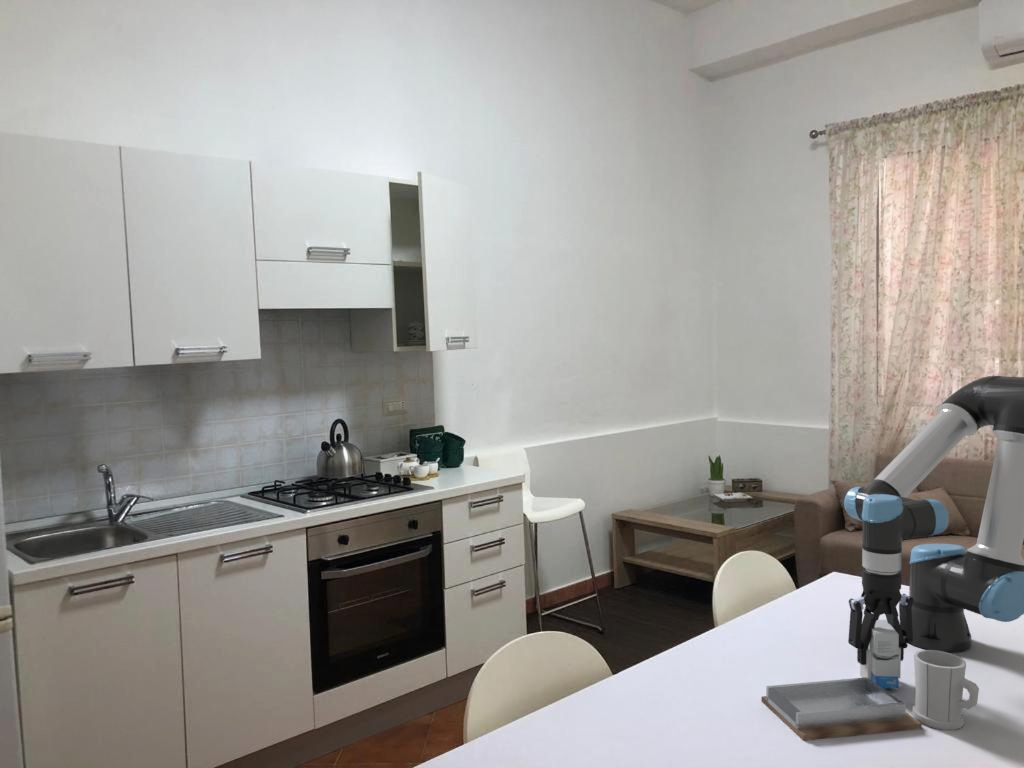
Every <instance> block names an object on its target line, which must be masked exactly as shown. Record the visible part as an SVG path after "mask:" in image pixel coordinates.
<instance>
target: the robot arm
mask: <svg viewBox="0 0 1024 768" xmlns="http://www.w3.org/2000/svg"><path fill="white" fill-rule="evenodd" d="M987 426H993V427H992V434H993V435H994V436H995V437H996V439H997V444H996V450H995V455H994V458H993V459H994V460H993V465H992V468H991V473H990V478H989V483H988V488H987V493H986V497H985V502H984V506H983V510H982V511H983V512H982V514H981V515H982V516H981V520H980V521H981V522H980V526H979V531H978V535H977V540H976V544H974V545H973V546H971V547H968V548H967V550H966V548H965V547H964V545H960V544H959V545H958V544H953V543H952V544H951V543H924V544H919V545H915V546H914V547H913V548H912V549H911V551H910V552H911V553H910V561H909V586H908V587H909V590H908V591H909V592H908V593H909V595H908V594H906V593H901V589H902V573H901V571H902V568H903V563H902V561H903V555H902V554H903V553H902V551H903V550H902V549H903V540H907V539H914V538H915V539H916V538H922V537H932V536H934V535H939V534H942V533H943V532H945V531H946V530H947V528H948V526H949V524H950V523H949V522H950V515H949V512H948V509H947V508H946V506H945V505H944V504H943V503H942V502H941V501H939V500H937V499H933V498H932V499H930V498H928V499H927V498H923V499H913V498H908V496H909V495H910V494H911V493H912V492H913V491H914V490H915V489H916V488H917V487H918V485H920V483H922V482H923V480H924V479H926V477H927V476H928V475H929V474H930V473H932V471H933V470H934V469H935V468H936V467H937V466H938V464H940V463H941V462H942V461H943V460H944V459H945V458H946V456H947V455H949V453H950V452H951V451H953V449H954V448H955V447H956V446H958V445H959V443H960V442H961V441H962V440H963V439H964V438H965V437H969V436H973V435H975V433H977V431H978V430H979V429H981V428H984V427H987ZM843 505H844V510H845V512H846V513H847V515H848V516H850V518H853V519H856V520H858V521H861V522H862V523H861V524H862V527H861V528H862V529H861V530H862V531H861V532H862V536H861V537H862V541H861V542H862V544H861V545H862V547H861V549H862V550H861V551H862V552H861V554H862V555H861V557H862V558H861V561H862V563H861V566H862V567H863V568H862V569H861V586H862V593H861V595H860V597H858V598H849V600H848V605H849V608H850V611H849V612H850V613H849V614H850V616H849V627H848V628H849V629H848V639H847V640H848V644H849V645H851V646H852V647H854V648H855V649H857V651H856V653H857V657H856V660H857V663H858V664H859V665H860V666H859V667H860V668H859V669H860V670H859V672H860V673H859V676H860V678H864V677H867V678H869V679H870V680H871V652H872V651H871V650H869V649H868V647H869V643H870V640H871V637H872V629H874V627H875V623H876V621H877V620H878V619H879V618H880V616H881V615H885V620H887V622H888V623H889V624H890V625H891V626H892V627H893V628H894V629H895V631H896V632H897V633H898V634H899V667H898V675H899V676H898V679H901V674H902V673H901V670H902V669H901V663H902V662H903V661H904V658H905V657H904V656H905V655H904V653H905V651H904V650H905V649H907V648H908V644H910V645H912V646H915V647H918V648H922V649H924V650H937V651H943V652H947V653H958V652H964V651H967V650H969V649H971V647H972V634H971V631H970V628H969V625H968V622H967V619H966V615H965V610H966V611H969V612H972V613H975V614H977V615H980V616H983V618H986V619H989V620H995V621H998V622H1001V623H1009V622H1013V621H1016V620H1017V619H1020V618H1021V616H1024V558H1023V557H1022V554H1021V553H1022V548H1023V543H1024V376H1023V377H1022V376H1005V375H1004V376H1003V375H1002V376H1001V375H989V376H983V377H981V378H978V379H975V380H973V381H971V382H968V383H967V384H965V385H964V386H962V387H960V388H959V389H957V390H956V391H954V392H953V393H952V394H951V395H950V396H949V397H947V398H946V399H945V400H944V401H943V402H942V403H941V404H940V405H939V406H938V408H937V415H936V416H935V417H933V419H932V420H931V421H930V422H929V423H927V425H926V426H924V428H923V429H922V430H921V431H920V432H919V433H918V434H917V435H916V436H915V437H914V438H913V439H912V440H911V441H910V442H909V443H908V444H907V445H906V446H905V447H904V448H903V449H902V451H900V453H899V454H898V455H896V457H894V458H893V460H892V461H891V462H890V463H889V464H888V465H887V466H886V467H884V469H883V470H882V471H881V472H880V473H879V474H878V475H877V476H875V478H874V479H873V480H872V481H871V482H870V483H869V484H868V485H867V486H866V487H865V486H854V487H853V488H850V489H849V490H848V491H847V493H846V495H845V497H844V502H843ZM864 605H865V607H864ZM897 605H898V610H897ZM898 611H899V612H898ZM879 620H880V619H879Z"/></svg>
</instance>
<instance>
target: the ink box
mask: <svg viewBox="0 0 1024 768" xmlns="http://www.w3.org/2000/svg"><path fill="white" fill-rule="evenodd" d="M868 649H869V650H871V651H872V652H871V680H872V681H873V682H875V683H876V684H878V685H879V686H880V687H882V688H883V689H896V690H897V689H899V678H898V676H899V675H898V667H899V634H898V633H897V632H896V631H895V629H894V628H893V627H892V626H891V625H890V624H889V623H888V622H887V619H878V620H877V621H876V623H875V627H874V629H872V637H871V640H870V643H869V647H868Z"/></svg>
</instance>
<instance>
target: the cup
mask: <svg viewBox="0 0 1024 768" xmlns="http://www.w3.org/2000/svg"><path fill="white" fill-rule="evenodd" d="M913 661H914V679H915V680H914V683H915V684H914V685H915V687H914V689H915V698H914V702H915V703H914V704H913V706H912V717H913V718H915V719H916V720H918V721H919V722H921V723H922V725H925V726H927V727H930V728H932V729H938V730H944V731H953V730H955V731H956V730H958V729H960V728H962V727H963V726H964V724H965V715H964V713H962V709H965V710H970V709H973V708H974V707H976V706H977V705H978V701H979V700H978V699H979V692H980V688H979V686H978V685H977V684H976V682H973V681H972V680H970V679H967V678H965V676H966V668H967V662H966V661H965V660H964V659H963V658H962V657H961V656H959V655H957V654H953V653H952V652H943V651H937V650H929V649H924V650H923V649H922V650H918V651H916V652H914V654H913ZM964 689H966V690H967V692H968V694H969V696H968V700H964V699H963V696H964V695H963V694H964V693H963V692H964Z"/></svg>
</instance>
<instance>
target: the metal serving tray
mask: <svg viewBox="0 0 1024 768" xmlns="http://www.w3.org/2000/svg"><path fill="white" fill-rule="evenodd" d="M765 696H766V701H767V702H768V703H769V704H770V705H771V706H772V707H773V708H775V709H776V710H777V711H778V712H779V713H780V714H781V715H782V716H783V717H784V718H785V719H786V720H788V721H789V722H790V723H791V724H792V725H793V726H794V727H795V728H796V729H797V730H804V729H814V728H824V727H834V726H844V725H854V724H864V723H874V722H884V721H895V720H905V715H906V713H907V708H906V707H907V705H906V704H907V703H905V702H904V701H902V700H901V699H899V698H898V697H897V696H895V695H893V694H892V693H891V692H889V691H888V690H886V688H882V687H880V686H879V685H878V684H876V683H875V682H873V681H872V680H870V679H869V678H867V677H864V678H862V677H856V678H844V679H833V680H822V681H821V680H820V681H810V682H798V683H787V684H776V685H767V686H766V695H765Z"/></svg>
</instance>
